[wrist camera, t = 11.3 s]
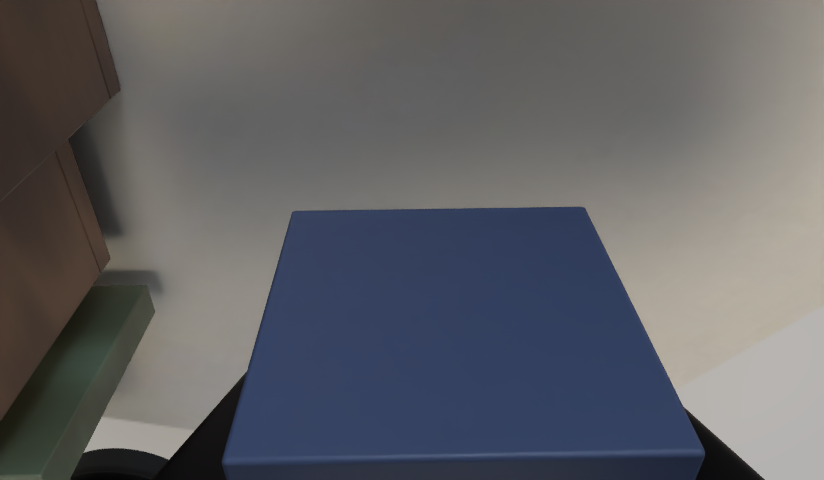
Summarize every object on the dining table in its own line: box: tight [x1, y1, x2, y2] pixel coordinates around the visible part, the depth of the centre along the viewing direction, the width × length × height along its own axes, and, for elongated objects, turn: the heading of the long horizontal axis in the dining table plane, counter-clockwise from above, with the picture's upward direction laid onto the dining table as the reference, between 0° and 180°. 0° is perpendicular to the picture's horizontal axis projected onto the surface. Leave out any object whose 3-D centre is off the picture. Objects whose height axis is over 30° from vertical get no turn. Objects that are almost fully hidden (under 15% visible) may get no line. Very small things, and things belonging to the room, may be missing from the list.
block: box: [222, 207, 705, 480], centre depth 8 cm, size 4×4×4 cm
